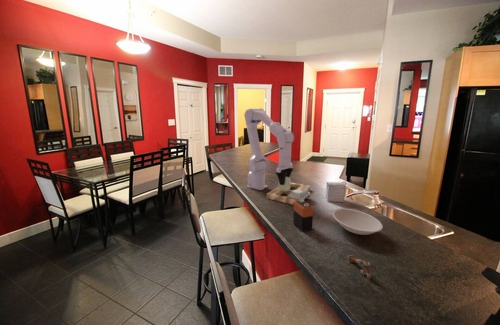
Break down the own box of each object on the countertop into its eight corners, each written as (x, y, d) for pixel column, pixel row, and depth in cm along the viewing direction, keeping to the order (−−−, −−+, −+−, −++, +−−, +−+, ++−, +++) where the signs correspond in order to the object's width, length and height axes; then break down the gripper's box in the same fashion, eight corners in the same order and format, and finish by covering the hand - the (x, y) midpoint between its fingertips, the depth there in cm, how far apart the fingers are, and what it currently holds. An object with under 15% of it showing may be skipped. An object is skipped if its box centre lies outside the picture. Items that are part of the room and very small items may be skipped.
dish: (322, 223, 86) (323, 211, 84) (351, 217, 90) (352, 206, 89) (358, 249, 69) (360, 235, 68) (391, 240, 74) (393, 227, 73)
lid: (287, 197, 105) (287, 191, 104) (295, 190, 113) (295, 186, 112) (302, 200, 101) (303, 195, 100) (310, 193, 109) (310, 188, 108)
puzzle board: (266, 198, 111) (266, 193, 110) (286, 185, 130) (286, 181, 129) (302, 206, 101) (302, 201, 100) (317, 191, 120) (318, 187, 119)
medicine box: (341, 199, 110) (343, 182, 108) (344, 202, 105) (346, 185, 103) (325, 198, 111) (326, 181, 109) (327, 201, 106) (328, 184, 104)
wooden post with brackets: (369, 280, 55) (366, 261, 56) (349, 271, 63) (347, 254, 64) (375, 279, 56) (372, 260, 57) (355, 270, 64) (352, 254, 64)
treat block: (278, 189, 110) (278, 178, 109) (282, 187, 114) (282, 175, 113) (286, 191, 108) (286, 179, 106) (290, 188, 111) (290, 177, 110)
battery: (302, 221, 87) (303, 197, 85) (312, 229, 81) (314, 204, 79) (292, 223, 86) (293, 199, 83) (302, 232, 79) (303, 206, 77)
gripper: (286, 160, 99) (285, 188, 102) (298, 155, 111) (297, 180, 114) (272, 158, 103) (271, 186, 106) (285, 153, 115) (284, 178, 118)
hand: (284, 183), depth 110 cm, fingers closed on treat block, 4 cm apart
